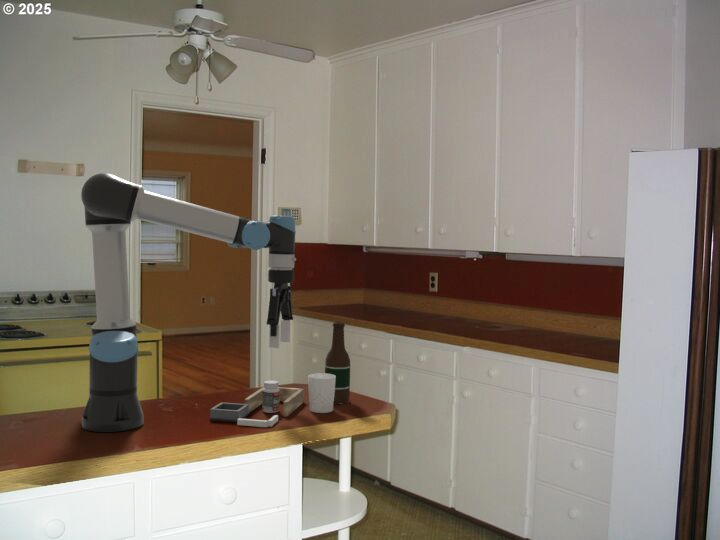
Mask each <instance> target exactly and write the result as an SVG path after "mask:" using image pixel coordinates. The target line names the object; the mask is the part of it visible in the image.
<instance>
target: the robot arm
mask: <svg viewBox="0 0 720 540" xmlns="http://www.w3.org/2000/svg"><path fill="white" fill-rule="evenodd" d="M80 198H81V202H82V204H83V207H84V220H85V221H84V222H85V227H86V228H87V229H88V230H89V231H90V232H91V236H92V237H91V238H92V241H91V242H92V255H93V256H92V257H93V271H94V272H93V275H94V289H95V290H94V291H95V309H96V321H95V322H94V323H93V324H92V325H91V338H90V340H89V345H88V353H89V375H88V376H89V380H88V381H89V389H88V390H89V391H88V393H89V395H88V399H87V402H86V405H85V408H84V410H83V413H82V416H81V428H82V429H83V430H86V431H89V432H95V433H116V432H124V431H129V430H133V429H137V428H139V427H141V426H143V425H144V422H145V421H144V420H145V419H144V412H143V409H142V406H141V403H140V399H139V397H138V355H139V343H138V335H137V323H136V322H135V321H134V320H133V319H131V312H130V310H131V309H130V295H129V277H128V276H129V275H128V256H127V255H128V254H127V239H126V238H127V237H126V231H127V229H129V227H130V226H131V224H132V223H131V222H134V221H135V220H139V221H144V222H146V223H147V222H148V223H150V224H151V223H152V224H155V225H159V226H161V227H162V226H163V227H167V228H169V229H175V230H179V231H182V232H185V233H190V234H194V235H198V236H201V237H206V238H208V239H213V240H216V241H221V242H224V243H227V246H228V247H230V248H236V249H240V248H241V249H250V250H252V251H253V250H254V251H259V250H261V249H268V263H267V265H268V266H267V267H268V268H269V270H268V272H267V280H268V282H269V283H273V284H274V285H273V288H270V289H269V302H268V311H267V318H266V319H267V320H266V325H269V336H268V337H269V342H268V343H269V345H268V346H269V348H270V349H271V348H273V349H279V348H280V343H290V342H291V321H294V316H293V303H292V286H291V285H288V284H292V283H294V282H295V271H294V268H295V262H296V261H297V258H296V257H295V253H296V252H295V249H296V232H297V231H296V219H295V217H293V216H292V215H270V216H269V218H268V221H264V222H263V221H259V220H253V219H249V218H246V217H241V216H239V215H235V214H231V213H227V212H224V211H220V210H216V209H212V208H210V207H206V206H203V205H202V206H201V205H199V204H194V203H191V202H187V201H184V200H180V199H177V198H173V197H169V196H165V195H163V194H158V193H155V192H150V191H147V190H145V189H144V188H143V186H142V185H141V184H138V183H137V184H136V183H134V182H131V181H128V180H126V179H123V178H121V177H119V176H117V175H115V174H112V173H107V172H103V173H102V172H99V173H96V174H93V175H92V176H91V177H89V178H88V179H86V181H85V182H84V184H83V185H82V188H81V195H80ZM280 316H281V320H280ZM279 322H280V324H279Z"/></svg>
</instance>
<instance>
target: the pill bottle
mask: <svg viewBox="0 0 720 540" xmlns="http://www.w3.org/2000/svg"><path fill="white" fill-rule="evenodd" d="M263 387H265V388H264V389H263V401H262V404H261V407H262V409H261V410H262V412H263V413H268V414H275V413H278V412H279V411H280V401H279V388H277V387H279V381H278V380H265V381H263Z"/></svg>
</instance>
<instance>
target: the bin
mask: <svg viewBox="0 0 720 540" xmlns="http://www.w3.org/2000/svg"><path fill="white" fill-rule="evenodd" d="M209 412H210V413H209V414H210V415H209V416H210V417H209V420H210V421H215V422H226V423H228V422H229V423H237V419H239V418H240V419H246V418H247V417H249V414H250V413H249V404H245V403H237V402H236V403H233V402H220V403H218V404H216V405H214V406H213V407H211V408H210V410H209Z"/></svg>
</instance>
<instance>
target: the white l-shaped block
mask: <svg viewBox="0 0 720 540" xmlns="http://www.w3.org/2000/svg"><path fill="white" fill-rule="evenodd" d="M277 422H279V415H278V414H274V415H272V416H271V418H269V419H268V420H265V419H263V420H262V419H251V418H244V419H240V418H239V419H237V422H236V425H237V426H244V427H245V426H246V427H247V426H248V427H257V428H268V427H271V428H272V427H273V426H274V425H275V424H276V423H277Z"/></svg>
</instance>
